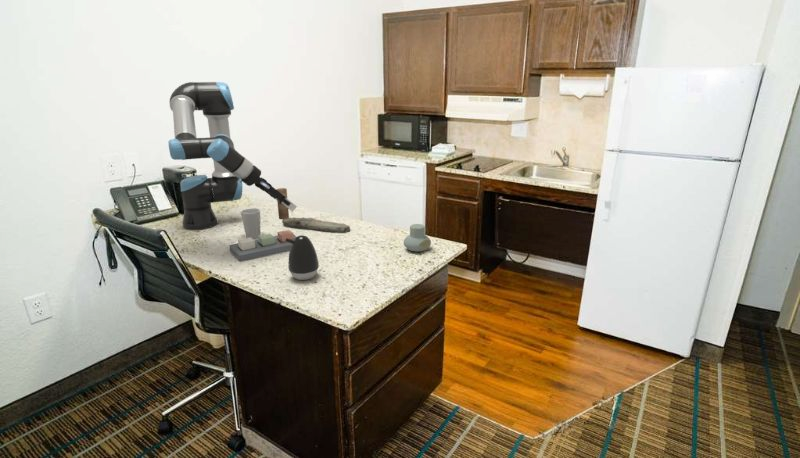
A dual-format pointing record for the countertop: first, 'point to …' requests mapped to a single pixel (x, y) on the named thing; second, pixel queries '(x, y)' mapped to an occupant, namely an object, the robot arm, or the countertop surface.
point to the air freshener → (417, 239)
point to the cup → (251, 222)
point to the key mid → (266, 239)
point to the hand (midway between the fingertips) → (292, 207)
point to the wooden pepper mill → (282, 209)
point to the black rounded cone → (302, 258)
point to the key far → (285, 235)
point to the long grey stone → (315, 224)
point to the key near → (246, 243)
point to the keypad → (260, 249)
